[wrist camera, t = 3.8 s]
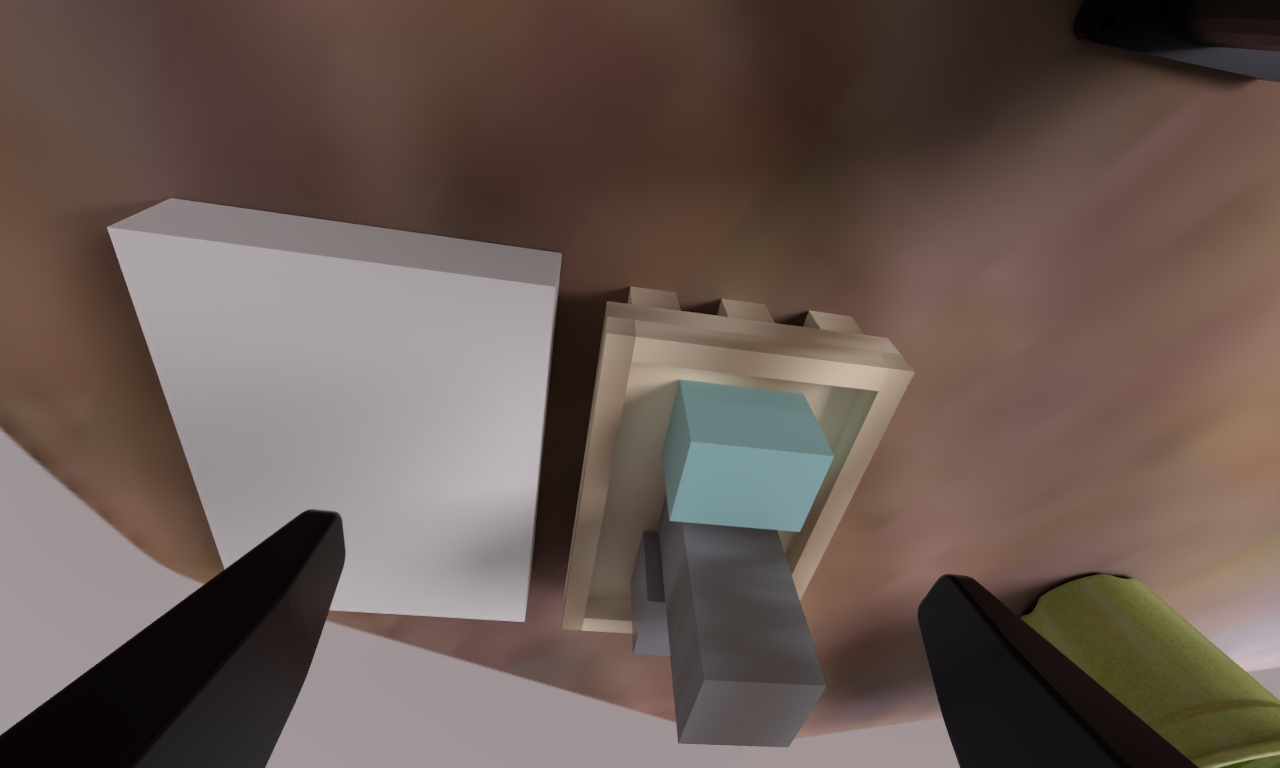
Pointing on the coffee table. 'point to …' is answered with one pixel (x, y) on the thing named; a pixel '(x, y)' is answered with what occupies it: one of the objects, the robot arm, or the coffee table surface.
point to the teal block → (742, 457)
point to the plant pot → (1162, 670)
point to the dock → (356, 393)
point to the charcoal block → (649, 599)
